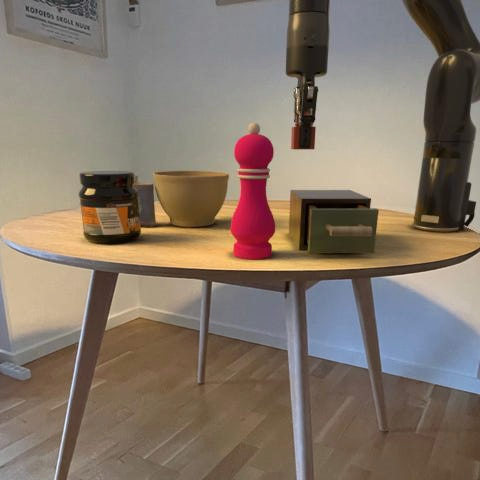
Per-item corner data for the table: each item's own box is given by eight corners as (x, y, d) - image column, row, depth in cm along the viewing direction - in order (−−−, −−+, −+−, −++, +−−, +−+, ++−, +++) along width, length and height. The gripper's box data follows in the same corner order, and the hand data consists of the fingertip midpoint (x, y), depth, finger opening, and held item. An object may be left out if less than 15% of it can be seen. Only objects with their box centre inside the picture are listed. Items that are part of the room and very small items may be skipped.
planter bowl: (174, 233, 93) (172, 176, 89) (144, 221, 106) (141, 171, 102) (243, 226, 101) (243, 173, 97) (207, 216, 114) (206, 169, 110)
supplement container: (111, 247, 81) (104, 175, 77) (71, 240, 87) (63, 172, 82) (153, 237, 89) (149, 172, 85) (114, 231, 95) (108, 169, 90)
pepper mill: (229, 250, 80) (228, 123, 72) (271, 249, 80) (274, 123, 73) (232, 260, 73) (231, 121, 66) (277, 259, 74) (282, 121, 66)
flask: (158, 225, 101) (155, 174, 97) (149, 228, 99) (145, 175, 95) (125, 222, 105) (121, 172, 101) (116, 224, 103) (111, 173, 99)
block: (311, 149, 92) (312, 127, 90) (314, 149, 88) (315, 126, 87) (290, 149, 92) (291, 127, 90) (293, 149, 88) (294, 126, 86)
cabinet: (366, 249, 80) (371, 198, 77) (299, 250, 80) (301, 198, 77) (346, 234, 93) (350, 189, 90) (288, 234, 93) (290, 189, 90)
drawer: (383, 260, 70) (389, 214, 67) (314, 260, 69) (317, 214, 67) (353, 237, 86) (357, 199, 83) (297, 237, 86) (299, 199, 83)
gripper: (282, 53, 90) (279, 147, 96) (291, 38, 77) (287, 149, 83) (321, 53, 90) (316, 147, 96) (336, 38, 77) (329, 149, 83)
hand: (302, 147), depth 90 cm, fingers closed on block, 4 cm apart
